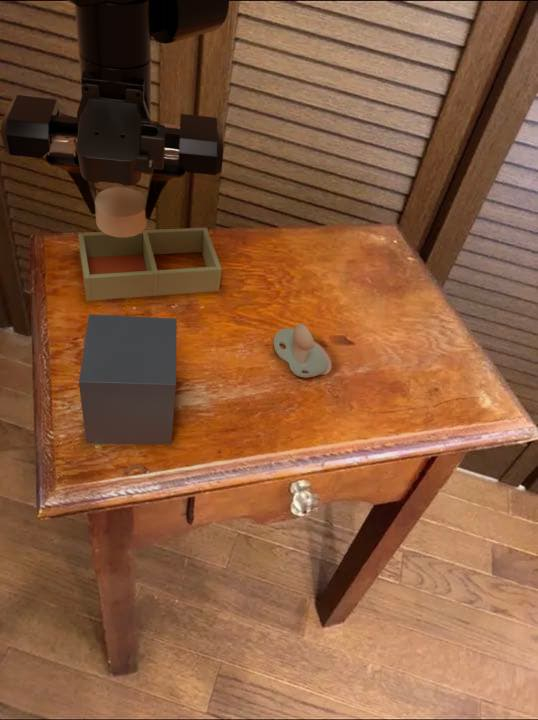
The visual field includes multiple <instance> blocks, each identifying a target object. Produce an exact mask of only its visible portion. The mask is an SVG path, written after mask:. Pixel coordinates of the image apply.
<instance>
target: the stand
mask: <svg viewBox="0 0 538 720" xmlns="http://www.w3.org/2000/svg"><path fill="white" fill-rule="evenodd" d="M177 321H178V319H177V318H171V317H170V318H169V317H152V316H151V317H150V316H132V315H130V316H129V315H112V314H110V315H109V314H91V313H89V314H88V317H87V325H86V332H85V337H84V343H83V344H84V345H83V350H82V357H81V364H80V372H79V379H78V385H79V394H80V402H81V403H80V404H81V410H82V411H81V412H82V419H83V427H84V436H85V437H84V438H85V444H86V445H167V446H169V445H170V446H171V445H172V442H173V429H174V419H175V418H174V416H175V403H176V391H177V390H176V389H177V340H178V339H177V338H178V337H177V332H178V331H177V327H178V326H177V324H178V322H177Z"/></svg>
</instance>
